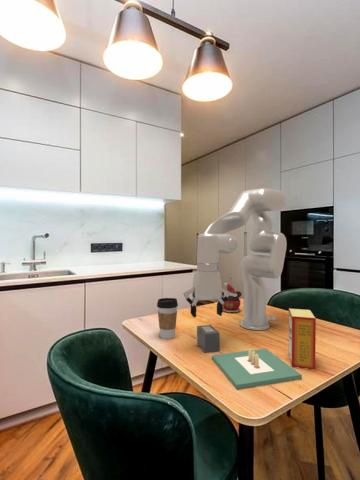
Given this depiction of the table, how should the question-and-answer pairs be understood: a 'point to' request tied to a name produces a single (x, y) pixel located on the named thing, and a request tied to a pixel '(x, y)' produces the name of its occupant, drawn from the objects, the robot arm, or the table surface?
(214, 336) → the block
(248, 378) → the pin board
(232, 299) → the red christmas figurine
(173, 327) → the coffee cup
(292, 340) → the baking soda box
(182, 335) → the table surface
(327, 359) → the table surface
